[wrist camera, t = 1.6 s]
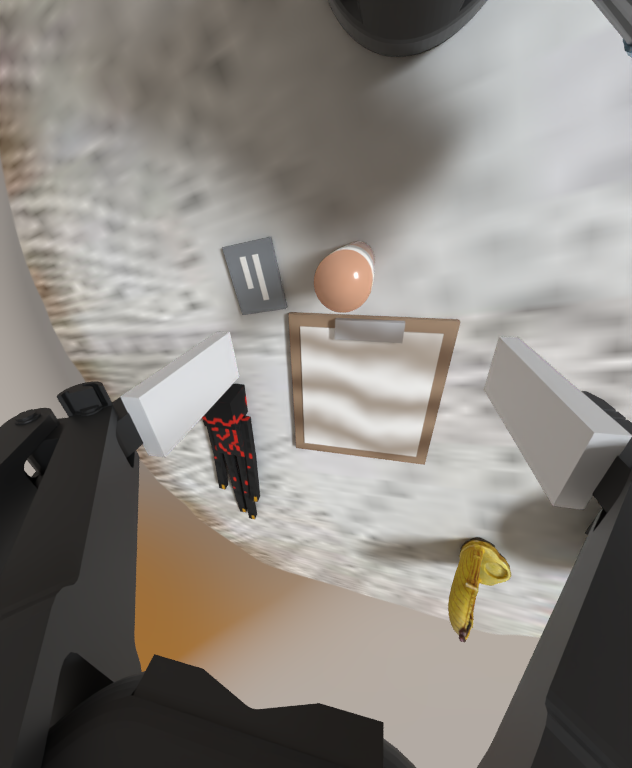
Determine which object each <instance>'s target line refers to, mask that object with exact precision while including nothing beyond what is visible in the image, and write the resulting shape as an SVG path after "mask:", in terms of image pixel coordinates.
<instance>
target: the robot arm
mask: <svg viewBox="0 0 632 768" xmlns="http://www.w3.org/2000/svg"><path fill="white" fill-rule="evenodd" d="M486 1H487V0H328V2H329V4H330V6H331V8H332V10H333V12H334V14H335V16H336V17H337V19H338V21H339V22H340V24H341V25H342V26H343V28H344V29H345V30H346V31H347V33H348V34H349V35H350V36H351V37H352V38H353V39H354V40H355V41H357V42H358V43H359V44H361V45H362V46H364V47H365V48H367V49H369V50H371V51H373V52H375V53H378V54H382V55H386V56H396V57H399V56H409V55H414V54H418V53H421V52H424V51H427V50H429V49H431V48H433V47H435V46H437V45H439V44H440V43H442V42H444V41H445V40H447V39H448V38H450V37H451V36H452V35H454V34H455V33H456V32H458V31H459V30H460V29H461V28H462V27H463V26H464V25H465V24H467V23H468V22H469V21H470V20H471V19H472V18H473V16H474V15H475V14H476V13H477V12H478V11H479V10H480V9H481V7H482V6H483V5H484V4H485V3H486ZM592 1H593V2H594V3H595V5H596V6H597V7H598V8H599V9H600V11H601V12H602V13H603V14H604V16H605V17H606V18H607V19H608V20H609V22H610V23H611V24H612V25H613V27H614V28H615V29H616V30H617V31H618V33H619V34H620V35H621V36H622V38H623V43H624V48H625V51H626V52H627V54H628V55H629V56H630V57H632V0H592ZM239 377H240V376H239V372H238V367H237V363H236V358H235V354H234V349H233V345H232V340H231V335H230V332H216V333H214V334H213V335H211V336H210V337H208V338H207V339H205V340H204V341H202V342H201V343H199V344H198V345H196V346H195V347H193V348H192V349H190V350H189V351H187V352H186V353H184V354H183V355H181V356H180V357H178V358H177V359H175V360H174V361H172V362H171V363H169V364H168V365H166V366H165V367H163V368H162V369H160V370H159V371H158V372H156V373H155V374H153V375H152V376H150V377H149V378H147V379H146V380H144V381H143V382H141V383H140V384H138V385H137V386H135V387H134V388H132V389H131V390H129V391H128V392H126V393H125V394H123V395H122V396H120V398H118V399H117V400H115V401H114V402H111V400H110V398H109V396H108V394H107V392H106V390H105V388H104V386H103V384H102V383H101V382H87V383H82V384H78V385H75V386H73V387H70V388H68V389H66V390H64V391H63V392H61V393H59V394H58V396H57V398H58V400H59V402H60V403H61V405H62V406H63V408H64V410H65V411H66V413H67V415H68V416H69V417H68V418H62V419H57V418H56V416H55V415H54V414H53V412H52V410H51V409H49V408H39V409H34V410H32V409H31V410H28V411H26V412H22V413H20V414H18V415H17V416H15V417H13V418H12V419H10V420H8V421H7V422H6V423H4V424H3V425H2V426H1V427H0V768H416V767H415V766H414V765H413V764H412V763H411V762H410V761H409V760H408V759H407V758H406V757H405V756H404V755H403V754H402V753H401V752H400V751H399V750H398V749H397V748H395V747H394V746H393V745H391V744H390V743H389V742H387V741H386V740H385V739H384V738H383V722H381V721H377V720H374V719H371V718H367V717H363V716H360V715H357V714H354V713H350V712H347V711H344V710H340V709H337V708H333V707H330V706H326V705H323V704H320V703H317V704H308V705H297V706H287V707H278V708H267V709H252V708H250V707H248V706H247V705H245V704H244V703H243V702H242V701H241V700H239V699H238V698H237V697H236V696H235V695H233V694H232V693H231V692H230V691H229V690H228V689H226V688H225V687H224V686H223V685H222V684H220V683H219V682H218V681H217V680H216V679H214V678H213V677H212V676H211V675H209V673H207V672H206V671H205V670H204V669H202V668H199V667H195V666H191V665H188V664H185V663H182V662H178V661H175V660H172V659H168V658H165V657H162V656H158V655H154V656H153V658H152V660H151V662H150V663H149V666H148V667H147V669H146V671H144V672H141V665H140V661H139V658H138V655H137V651H136V648H135V642H134V625H135V624H134V623H135V590H136V557H137V523H138V488H139V455H138V453H137V451H136V450H137V449H138V448H139V447H140V446H141V445H142V444H143V445H144V447H145V449H146V451H147V453H148V455H150V456H158V457H166V456H167V455H168V454H169V453H170V452H171V451H172V449H173V448H174V447H175V446H176V445H177V444H178V443H179V442H180V441H181V440H182V439H183V438H184V436H185V435H186V434H187V433H188V432H189V431H190V430H191V429H192V428H193V427H194V426H195V424H196V423H197V422H198V421H199V420H200V419H201V418H202V417H203V416H204V415H205V414H206V413H207V411H208V410H209V409H210V408H211V407H212V406H213V405H214V404H215V403H216V402H217V401H218V399H219V398H220V397H221V396H222V395H223V394H224V393H225V392H226V391H227V390H228V389H229V388H230V386H231V385H232V384H233V383H234V382H235V381H236V380H237V379H238V378H239ZM484 391H485V392H486V394H487V396H488V397H489V399H490V401H491V403H492V404H493V406H494V408H495V409H496V411H497V413H498V414H499V416H500V418H501V419H502V421H503V423H504V424H505V426H506V428H507V430H508V431H509V433H510V435H511V436H512V438H513V440H514V441H515V443H516V445H517V446H518V448H519V450H520V452H521V453H522V455H523V457H524V458H525V460H526V462H527V463H528V465H529V467H530V468H531V470H532V472H533V473H534V475H535V477H536V479H537V480H538V482H539V484H540V485H541V487H542V489H543V490H544V492H545V494H546V495H547V497H548V499H549V500H550V502H551V504H552V506H556V507H564V508H572V509H580V510H584V508H585V507H586V505H587V504H588V502H589V501H590V499H591V498H592V496H594V497H595V498H596V500H597V501H598V502H599V503H600V505H601V506H602V507H603V508H602V509H601V511H600V512H599V514H598V515H597V516H596V518H595V519H594V521H593V522H592V524H591V525H590V526H589V528H588V529H587V531H586V532H585V533H586V534H588V536H587V538H586V540H585V543H584V545H583V547H582V549H581V551H580V553H579V556H578V558H577V560H576V562H575V564H574V566H573V569H572V571H571V573H570V575H569V577H568V579H567V582H566V584H565V586H564V588H563V590H562V592H561V594H560V597H559V599H558V601H557V603H556V605H555V607H554V610H553V612H552V614H551V616H550V618H549V620H548V623H547V625H546V627H545V629H544V631H543V633H542V636H541V638H540V640H539V642H538V644H537V647H536V649H535V651H534V653H533V656H532V657H531V659H530V661H529V664H528V666H527V668H526V670H525V672H524V675H523V677H522V679H521V681H520V683H519V685H518V688H517V690H516V692H515V694H514V696H513V698H512V700H511V703H510V705H509V707H508V709H507V711H506V713H505V716H504V718H503V720H502V722H501V724H500V726H499V728H498V731H497V733H496V735H495V737H494V739H493V741H492V743H491V745H490V747H489V749H488V751H487V752H486V754H485V756H484V757H483V759H482V760H481V762H480V763H479V765H478V767H477V768H632V423H631V422H630V421H629V420H626V418H625V417H624V416H623V415H621V414H620V413H619V412H616V410H615V409H614V408H613V407H612V406H610V405H609V404H608V403H607V402H605V401H604V400H603V399H601V398H599V397H597V396H595V395H593V394H591V393H589V392H586V391H580V390H579V389H578V388H577V387H576V386H574V385H573V384H572V383H571V382H570V381H569V380H567V379H566V378H565V377H564V376H563V375H562V374H561V373H559V372H558V371H557V370H556V369H555V368H554V367H552V366H551V365H550V364H549V363H548V362H547V361H546V360H544V359H543V358H542V357H541V356H540V355H539V354H537V353H536V352H535V351H534V350H533V349H532V348H531V347H529V346H528V345H527V344H526V343H525V342H524V341H522V340H521V339H520V338H519V337H499V338H498V342H497V345H496V349H495V352H494V356H493V359H492V363H491V366H490V370H489V373H488V377H487V380H486V384H485V387H484ZM26 460H28V462H29V463H30V464H31V466H32V467H33V468H34V469H35V471H36V472H35V473H34V474H33V476H32V477H30V476H29V475H27V473H26V472H25V471H24V464H25V462H26Z"/></svg>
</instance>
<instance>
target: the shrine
mask: <svg viewBox="0 0 632 768" xmlns="http://www.w3.org/2000/svg"><path fill="white" fill-rule="evenodd" d="M459 557H460V561H459V564H458V567H457V570H456V573H455V576H454V580H453V583H452V587H451V592H450V595H449V603H448V611H449V618H450V622H451V625H452V627H453V629H454V630H455V632H456V633H457V634H458V635H459V639H460V641H461V642H462V641H463V642H465V641H466V640H467V638H468V636H469V634H470V630H471V628H473V620H474V619H473V610H474V605H475V600H476V596H477V593H478V586H479V583H481V584H485V585H489V586H492V585H495V584H498V583H502V582H506V581H507V580H509V579H510V577H511V572H510V566H509V564H508V563H507V561H506V559H505V558H504V557H503V556H502V555H501V554H500V553H499V552H498V551H497V549H496V548H495V546H494V545H493V544H492V543H490V542H488V541H486V540H484V539H481V538H475V539H471V540H469V541H466V542H465V543H464V544H463V545H462V547H461V551H460V555H459Z"/></svg>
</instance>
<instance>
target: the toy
mask: <svg viewBox="0 0 632 768" xmlns="http://www.w3.org/2000/svg"><path fill="white" fill-rule="evenodd" d="M247 412H248V409H247V401H246V394H245V386H244V385H242V384H232V385H231V386H230V388H229V389H228V390H227V391H226V392H225V393H224V394H223V395H222V396H221V397H220V398H219V399H218V401H217V402H216V403H215V404H214V405H213V406H212V407H211V408H210V409H209V410H208V411H207V413H206V414H205V415H204V416H203V417H202V418H203V422H204V425H205V426H207V429H208V433H209V437H210V441H211V445H212V450H213V454H214V459H215V465H216V471H217V477H218V483H219V488H222V489H226V487H227V486H228V479H227V472H226V465H225V461H226V464H227V468H228V472H229V475H230V479H231V483H232V486H233V489H234V493H235V496H236V499H237V502H238V505H239V509H240V511H242V512H246V511H247V510H248V515H249V518H251V519H255V518H256V515H257V510H256V505H255V501H256V502H258V500H259V498H260V491H259V480H258V470H257V460H256V453H255V445H254V438H253V431H252V424H251V417H249V416H245V415H246V414H247ZM235 455H236V456H237V460H238V465H239V470H240V475H241V479H240V475H239V471H238V467H237V463H236V458H235ZM224 457H225V458H224ZM241 480H242V483H241ZM242 486H243V487H242Z"/></svg>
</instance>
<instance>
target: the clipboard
mask: <svg viewBox="0 0 632 768" xmlns="http://www.w3.org/2000/svg"><path fill="white" fill-rule="evenodd" d="M288 315H289V332H290V350H291V367H292V384H293V401H294V418H295V435H296V448H301V449H309V450H317V451H324V452H332V453H340V454H347V455H355V456H363V457H370V458H378V459H386V460H393V461H401V462H409V463H416V464H424V465H425V461H426V457H427V453H428V449H429V445H430V441H431V437H432V433H433V429H434V425H435V421H436V417H437V413H438V409H439V405H440V401H441V397H442V393H443V389H444V385H445V381H446V377H447V373H448V369H449V365H450V361H451V357H452V353H453V349H454V345H455V341H456V337H457V333H458V329H459V325H460V321H459V320H458V319H435V318H412V317H389V316H366V315H343V314H320V313H297V312H290V313H289V314H288Z"/></svg>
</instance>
